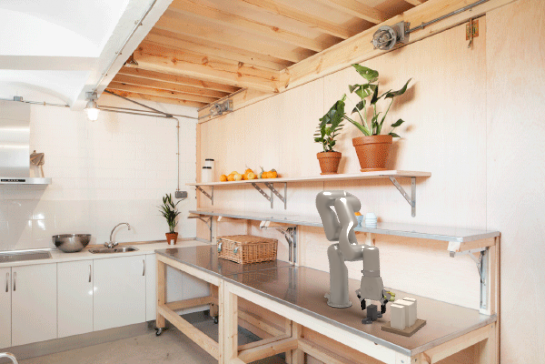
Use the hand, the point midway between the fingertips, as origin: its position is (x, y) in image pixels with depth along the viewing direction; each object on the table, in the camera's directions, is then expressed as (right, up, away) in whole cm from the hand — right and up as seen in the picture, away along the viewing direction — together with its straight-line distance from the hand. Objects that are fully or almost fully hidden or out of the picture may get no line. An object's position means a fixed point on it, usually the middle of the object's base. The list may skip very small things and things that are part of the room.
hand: (373, 311), depth 169 cm
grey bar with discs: (0, -4, +1) cm, 4 cm away
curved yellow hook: (+18, -5, +39) cm, 43 cm away
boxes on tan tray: (+11, -3, -9) cm, 15 cm away
